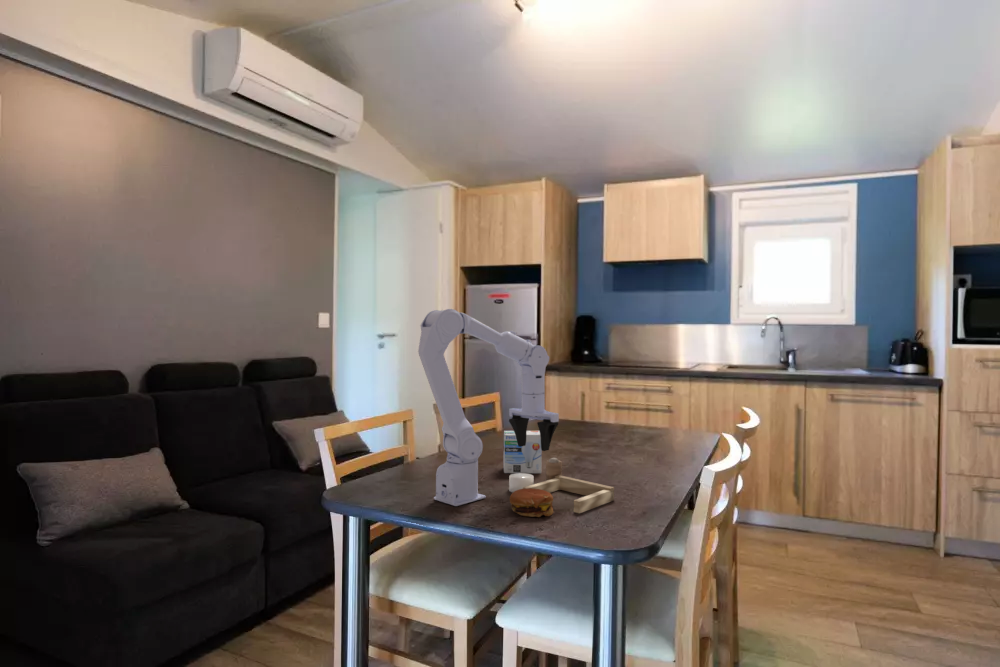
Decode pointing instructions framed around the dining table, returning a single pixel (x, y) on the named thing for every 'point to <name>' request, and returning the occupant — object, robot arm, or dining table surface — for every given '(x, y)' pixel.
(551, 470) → the pepper mill
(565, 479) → the bay
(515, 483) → the white dome
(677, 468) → the dining table surface
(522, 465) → the light bulb box
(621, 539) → the dining table surface
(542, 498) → the burger
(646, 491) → the dining table surface
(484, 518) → the dining table surface
